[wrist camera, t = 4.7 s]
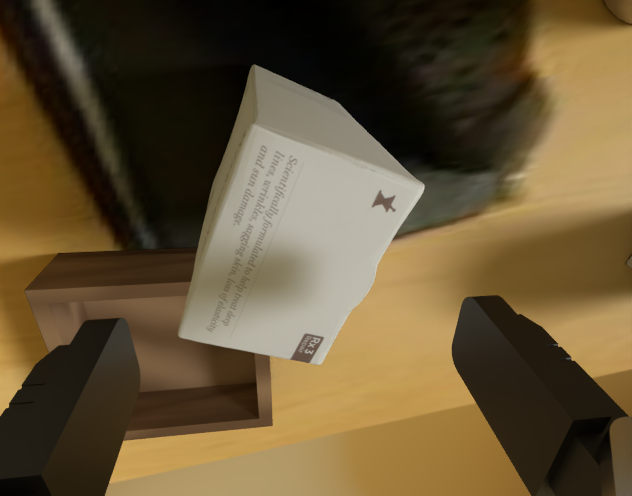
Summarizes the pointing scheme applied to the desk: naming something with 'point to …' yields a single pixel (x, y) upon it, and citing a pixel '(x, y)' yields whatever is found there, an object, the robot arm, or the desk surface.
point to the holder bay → (155, 340)
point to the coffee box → (629, 262)
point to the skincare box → (292, 224)
